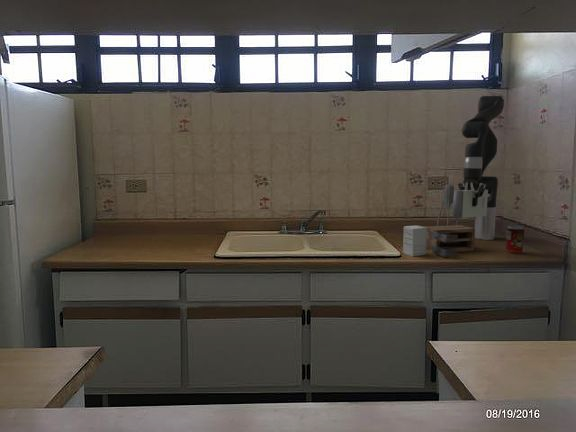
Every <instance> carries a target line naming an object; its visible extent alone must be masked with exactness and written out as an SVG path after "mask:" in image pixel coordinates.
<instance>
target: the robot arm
mask: <svg viewBox="0 0 576 432" xmlns="http://www.w3.org/2000/svg"><path fill="white" fill-rule="evenodd" d="M504 106H505V101H504V98H503V96H501V95H482V96H480V97H479V99H478V105H477V113H476V115H475V116H474V117H472V118H471V119H469V120H467V121H466V122H465V123H464V124H463V125H462V127H461V133H462V134H461V135H463V137H464V138H466V139H476V141H474V142H472V143H467V144H466V145H465V151H464V152H465V153H464V162H463V182H460V183H458V184H457V186H458V190H472V193H473V199H472V206H477V203H478V197H482V195H483V193H484V191H485V190H488V197H487V214H486V216H480V217H475V220H474V228H475V239H477V240H483V241H486V240H487V241H490V240H491V241H493V240H495V231H496V228H495V227H496V213H497V211H496V209H497V195H498V193H497V192H498V188H499V180H498V177H497V176H488V175H487V176H483V174H484V172H485V171H486V169H487V167H488V166H489V164H490V163H491V162H492V161H493V160H494V158H495V157H496V156H497V152H498V138H497V137H496V134H495V133H494V132H493V130H492V129H491V127H490V123H491V122H492V121H493V120H494V119H495V118H497V117H499V116H501V114H502V112H503V110H504ZM475 190H476V191H475ZM475 193H476V194H475Z"/></svg>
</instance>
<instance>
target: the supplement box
mask: <svg viewBox="0 0 576 432" xmlns="http://www.w3.org/2000/svg"><path fill="white" fill-rule="evenodd" d="M425 227H426V226H421V225H406V226H403V237H402V238H403V243H402V245H403V246H402V253H403V254H404V255H408V256H410V257H419V256H426V255H427V254H426V253H427V251H426V250H427V249H426V228H425Z"/></svg>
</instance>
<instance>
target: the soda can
mask: <svg viewBox="0 0 576 432" xmlns="http://www.w3.org/2000/svg"><path fill="white" fill-rule="evenodd" d="M524 237H525V228H524V226H521V225H512V224H511V225H508V226H507V228H506V238H505V239H506V240H505V241H506V242H505V243H506V244H505V250H506V252H507V253H508V254H511V253H512V254H514V255H521V253H522V252H523V249H524V239H525V238H524Z"/></svg>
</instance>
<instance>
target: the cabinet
mask: <svg viewBox="0 0 576 432" xmlns="http://www.w3.org/2000/svg"><path fill="white" fill-rule="evenodd" d="M424 227H425V228H426V250H427V251H430V252H431V253H433V254H435V255H439V256H441V257H444V258H451V257H457V256H458V255H457V254H458V252H459V253H460V252H469V251H470V252H471V251H472V252H473V251H475V239H476V238H475V227H470V226H466V225H461V224H458V225H456V224H454V225H453V224H452V225H450V224H449V226H447V225H438V226H437V225H433V226H424Z"/></svg>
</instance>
